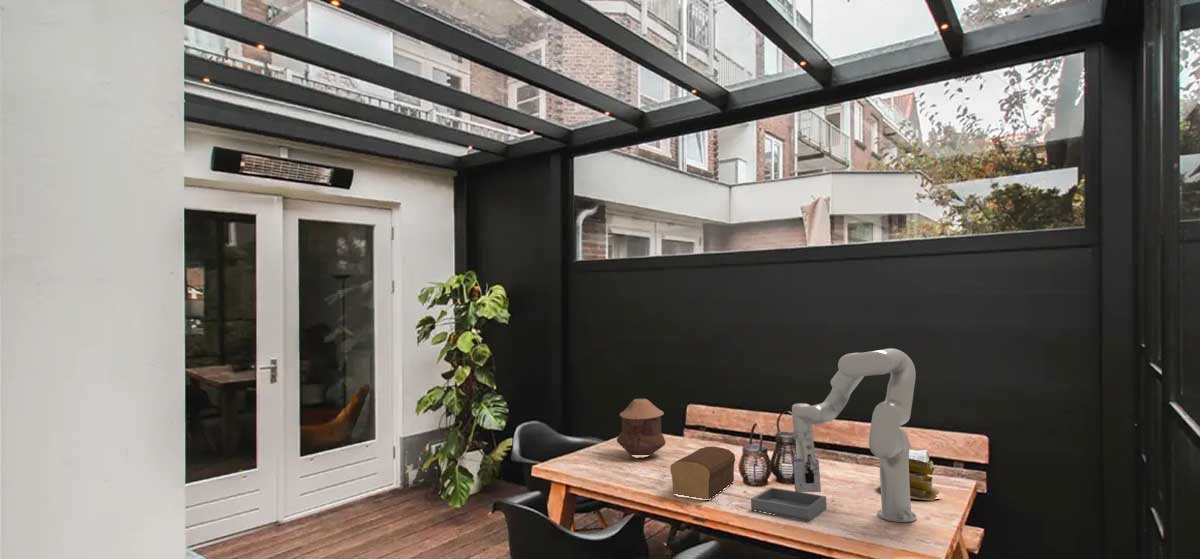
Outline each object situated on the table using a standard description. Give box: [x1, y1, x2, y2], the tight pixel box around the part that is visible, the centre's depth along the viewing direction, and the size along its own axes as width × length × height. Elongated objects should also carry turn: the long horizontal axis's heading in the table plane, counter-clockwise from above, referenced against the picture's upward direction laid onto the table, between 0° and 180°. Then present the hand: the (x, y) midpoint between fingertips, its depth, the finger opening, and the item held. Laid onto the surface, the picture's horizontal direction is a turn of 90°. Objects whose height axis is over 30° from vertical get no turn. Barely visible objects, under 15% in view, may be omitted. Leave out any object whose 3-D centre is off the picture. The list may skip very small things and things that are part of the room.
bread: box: [670, 446, 736, 499], centre depth 262 cm, size 18×30×16 cm, turn 148°
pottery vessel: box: [616, 398, 666, 456], centre depth 325 cm, size 26×26×30 cm
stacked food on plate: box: [875, 448, 941, 501], centre depth 250 cm, size 25×25×17 cm
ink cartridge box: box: [792, 457, 822, 493], centre depth 245 cm, size 10×6×14 cm, turn 79°
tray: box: [750, 487, 827, 523], centre depth 232 cm, size 22×18×4 cm
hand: (807, 480), depth 245 cm, fingers closed on ink cartridge box, 6 cm apart
